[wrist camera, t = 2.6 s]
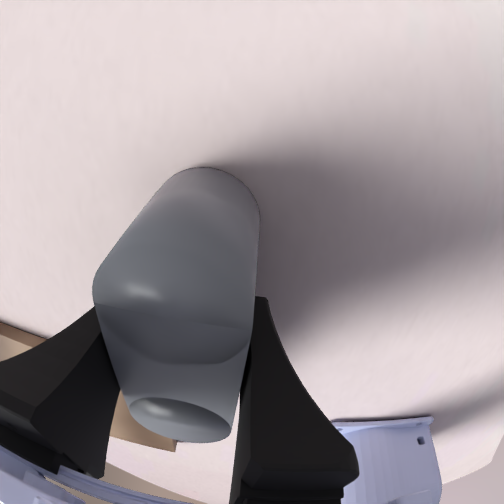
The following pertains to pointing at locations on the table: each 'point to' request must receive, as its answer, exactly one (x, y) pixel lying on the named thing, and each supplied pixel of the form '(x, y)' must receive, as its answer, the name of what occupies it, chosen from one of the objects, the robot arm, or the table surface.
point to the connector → (183, 304)
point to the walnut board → (123, 425)
